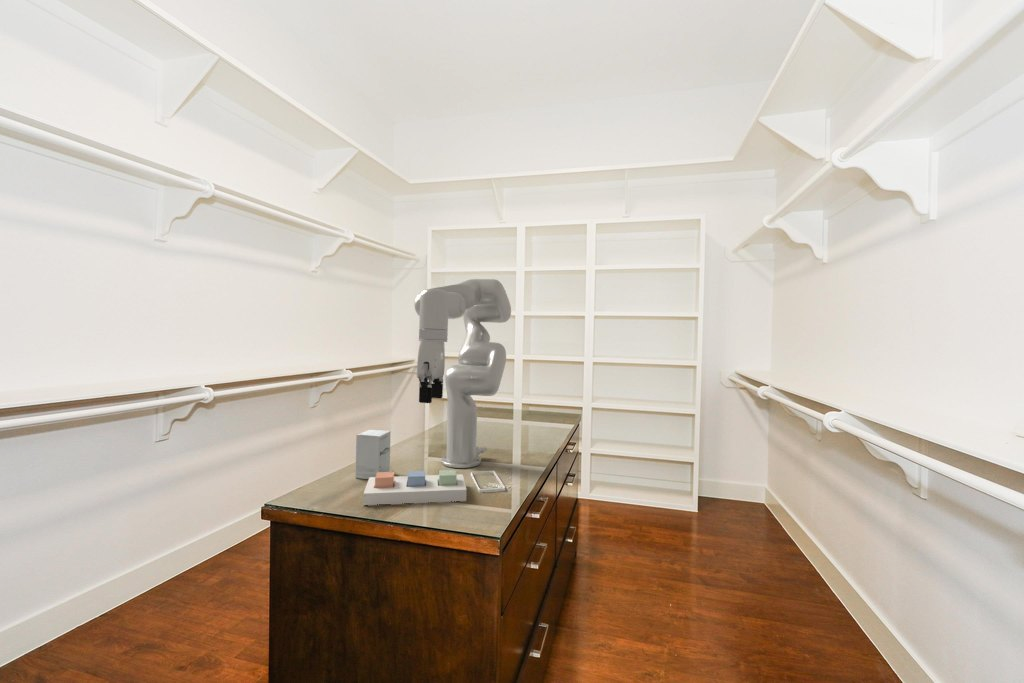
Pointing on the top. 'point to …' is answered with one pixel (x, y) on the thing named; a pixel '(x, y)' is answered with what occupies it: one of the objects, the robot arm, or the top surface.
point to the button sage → (447, 477)
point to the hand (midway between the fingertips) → (431, 400)
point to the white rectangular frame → (489, 489)
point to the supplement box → (372, 453)
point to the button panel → (415, 491)
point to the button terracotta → (384, 480)
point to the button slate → (416, 478)
